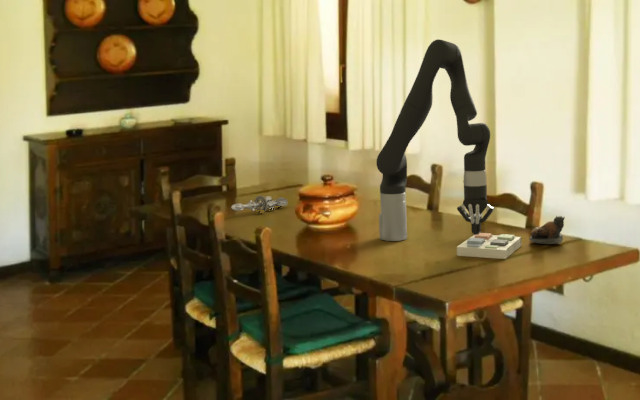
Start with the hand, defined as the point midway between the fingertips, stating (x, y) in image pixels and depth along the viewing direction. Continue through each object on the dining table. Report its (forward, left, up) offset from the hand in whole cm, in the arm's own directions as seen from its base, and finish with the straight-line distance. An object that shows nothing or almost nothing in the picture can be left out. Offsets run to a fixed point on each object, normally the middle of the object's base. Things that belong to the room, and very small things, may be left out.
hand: (476, 234), depth 302 cm
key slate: (0, 0, -4) cm, 4 cm away
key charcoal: (+8, 0, -4) cm, 9 cm away
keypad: (+4, +2, -6) cm, 7 cm away
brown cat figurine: (+20, +17, -6) cm, 27 cm away
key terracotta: (0, +8, -4) cm, 9 cm away
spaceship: (-109, +39, -6) cm, 115 cm away
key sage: (+8, +8, -4) cm, 12 cm away
